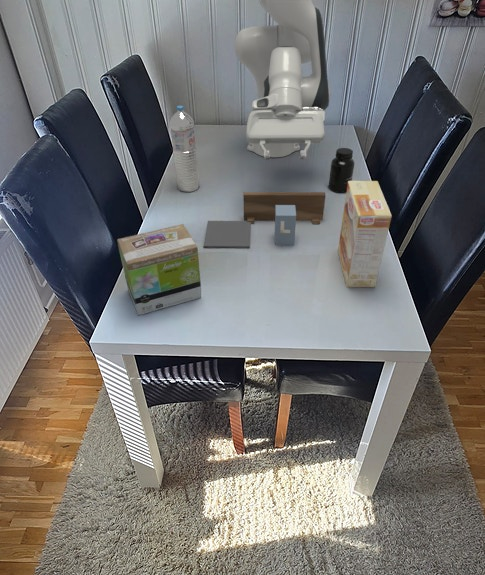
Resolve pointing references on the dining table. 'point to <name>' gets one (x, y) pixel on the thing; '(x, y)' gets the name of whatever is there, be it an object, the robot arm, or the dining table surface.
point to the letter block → (285, 224)
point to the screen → (265, 203)
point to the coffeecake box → (363, 233)
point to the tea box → (161, 268)
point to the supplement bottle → (341, 170)
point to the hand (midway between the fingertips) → (284, 158)
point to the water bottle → (184, 150)
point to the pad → (227, 234)
